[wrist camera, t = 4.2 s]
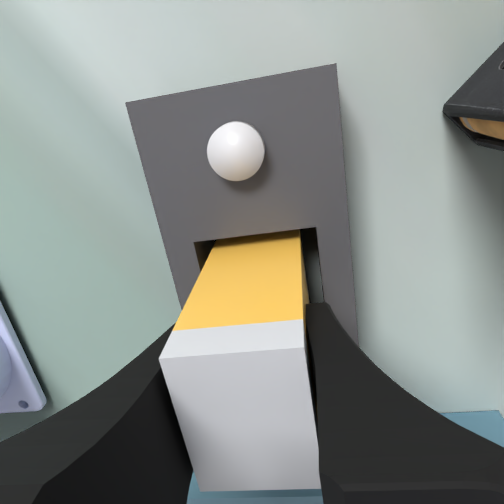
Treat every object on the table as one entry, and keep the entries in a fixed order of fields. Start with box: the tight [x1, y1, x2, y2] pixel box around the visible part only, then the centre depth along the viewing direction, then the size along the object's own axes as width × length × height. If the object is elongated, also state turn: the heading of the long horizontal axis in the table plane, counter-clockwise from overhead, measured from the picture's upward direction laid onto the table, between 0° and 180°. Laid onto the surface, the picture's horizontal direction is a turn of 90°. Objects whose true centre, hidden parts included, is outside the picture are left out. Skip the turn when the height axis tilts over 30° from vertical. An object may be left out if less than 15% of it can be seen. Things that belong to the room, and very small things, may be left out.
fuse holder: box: [126, 63, 359, 347], centre depth 15 cm, size 6×14×3 cm, turn 10°
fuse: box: [159, 229, 321, 492], centre depth 12 cm, size 3×4×7 cm
